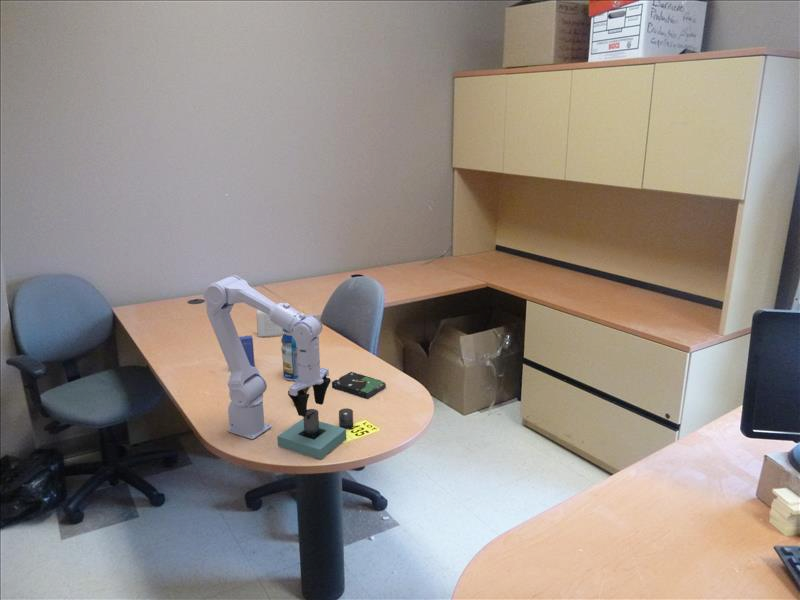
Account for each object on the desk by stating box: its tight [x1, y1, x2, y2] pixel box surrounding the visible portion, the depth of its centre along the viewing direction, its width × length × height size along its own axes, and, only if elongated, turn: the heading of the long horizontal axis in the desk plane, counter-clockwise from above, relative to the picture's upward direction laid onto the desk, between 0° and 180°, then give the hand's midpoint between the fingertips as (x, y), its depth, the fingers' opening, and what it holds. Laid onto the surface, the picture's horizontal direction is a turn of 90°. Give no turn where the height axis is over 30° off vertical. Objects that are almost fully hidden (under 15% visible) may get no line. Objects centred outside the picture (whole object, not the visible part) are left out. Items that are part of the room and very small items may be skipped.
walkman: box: [239, 334, 256, 368], centre depth 204 cm, size 8×3×12 cm, turn 114°
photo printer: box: [256, 309, 284, 338], centre depth 237 cm, size 10×4×12 cm, turn 102°
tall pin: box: [302, 408, 320, 440], centre depth 158 cm, size 4×4×9 cm
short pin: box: [338, 408, 354, 430], centre depth 167 cm, size 4×4×4 cm
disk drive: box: [331, 371, 387, 400], centre depth 192 cm, size 10×3×15 cm
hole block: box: [276, 418, 347, 461], centre depth 159 cm, size 14×12×3 cm
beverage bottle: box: [280, 329, 298, 382], centre depth 197 cm, size 8×8×20 cm
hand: (310, 409), depth 156 cm, fingers open, 7 cm apart
